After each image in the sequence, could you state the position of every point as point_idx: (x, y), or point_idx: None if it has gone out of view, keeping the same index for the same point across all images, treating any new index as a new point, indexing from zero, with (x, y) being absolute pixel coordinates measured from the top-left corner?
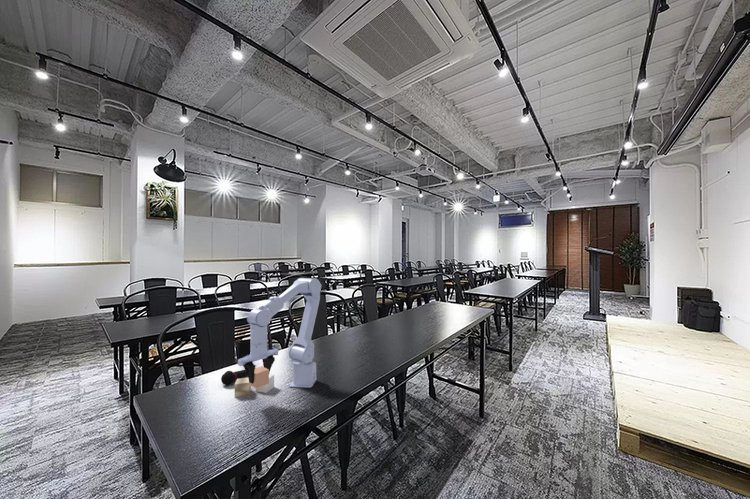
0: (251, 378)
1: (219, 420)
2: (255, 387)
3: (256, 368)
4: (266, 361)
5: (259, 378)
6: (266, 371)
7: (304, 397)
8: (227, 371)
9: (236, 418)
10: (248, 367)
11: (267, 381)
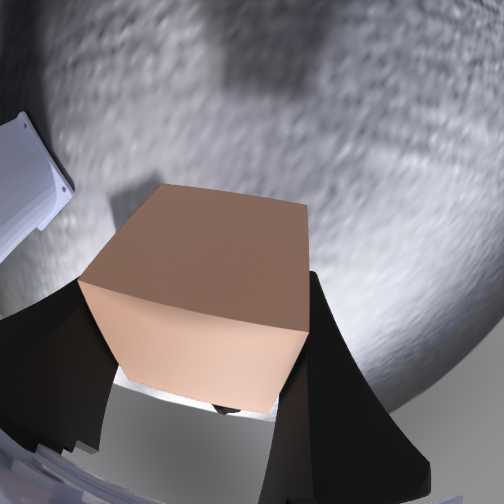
0: (330, 316)
1: (448, 222)
2: (305, 214)
3: (190, 394)
4: (59, 403)
5: (253, 252)
6: (119, 277)
7: (74, 45)
8: (225, 413)
9: (418, 163)
10: (430, 479)
11: (167, 197)
